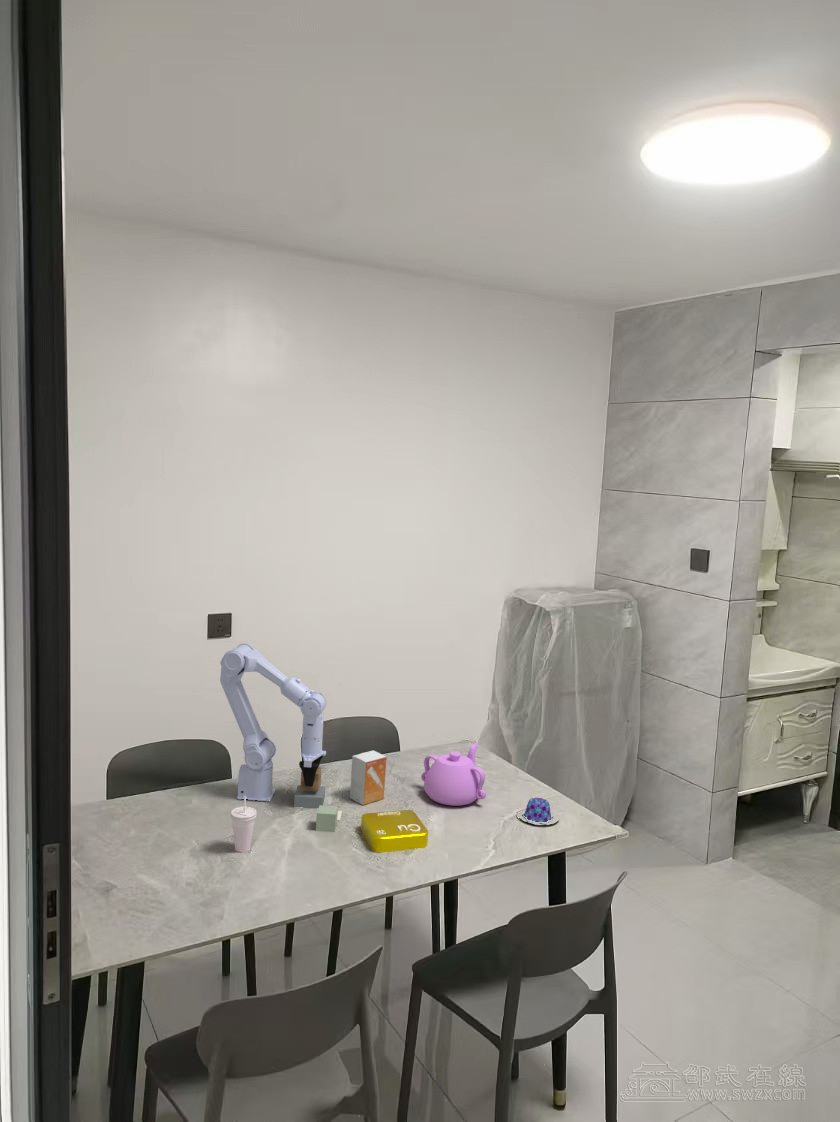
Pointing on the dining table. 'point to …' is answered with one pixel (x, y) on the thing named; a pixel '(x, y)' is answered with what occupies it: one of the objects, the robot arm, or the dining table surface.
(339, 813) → the card
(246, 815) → the smoothie
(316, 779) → the walnut cube
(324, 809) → the sage cube
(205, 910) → the dining table surface
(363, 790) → the small box
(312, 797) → the slate block
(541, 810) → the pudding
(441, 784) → the teapot
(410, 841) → the element tile
